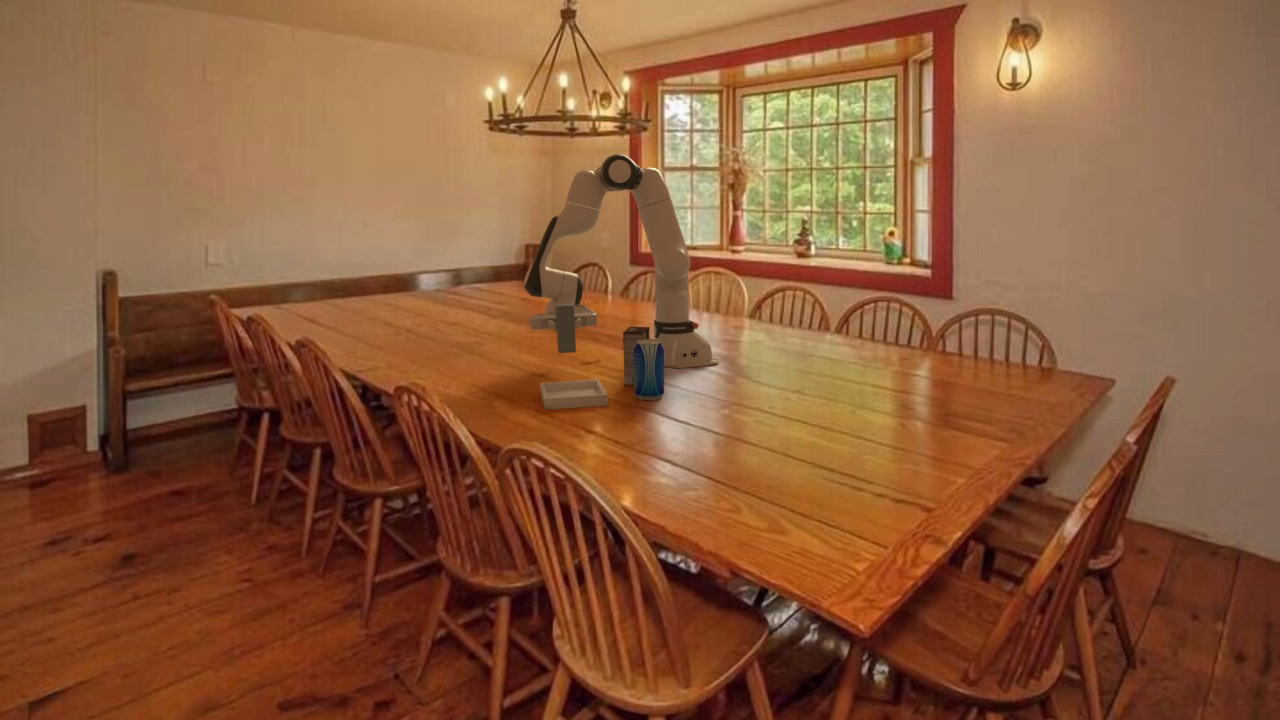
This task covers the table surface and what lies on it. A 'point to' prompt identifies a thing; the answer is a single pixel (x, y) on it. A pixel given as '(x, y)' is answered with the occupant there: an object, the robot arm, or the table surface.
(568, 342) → the slate block
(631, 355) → the coffee box
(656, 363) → the beer can
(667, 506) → the table surface
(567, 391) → the bin
